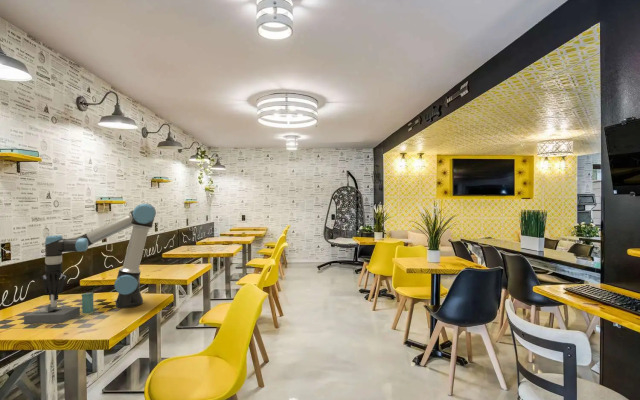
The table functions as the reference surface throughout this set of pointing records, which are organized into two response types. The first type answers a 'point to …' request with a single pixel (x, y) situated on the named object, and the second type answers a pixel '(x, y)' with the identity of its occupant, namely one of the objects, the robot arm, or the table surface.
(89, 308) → the plug
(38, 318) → the socket
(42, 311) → the shutter
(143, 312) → the table surface
